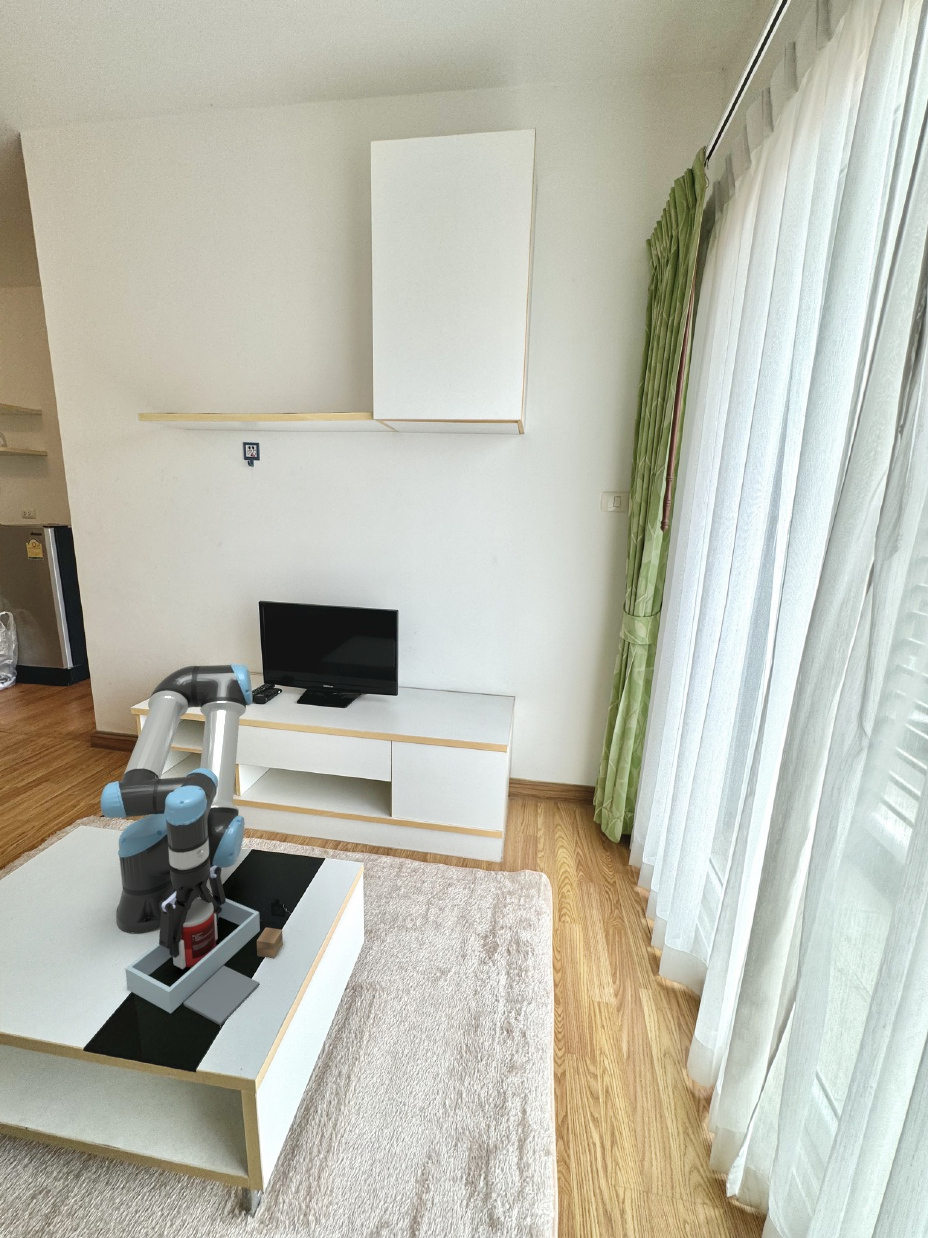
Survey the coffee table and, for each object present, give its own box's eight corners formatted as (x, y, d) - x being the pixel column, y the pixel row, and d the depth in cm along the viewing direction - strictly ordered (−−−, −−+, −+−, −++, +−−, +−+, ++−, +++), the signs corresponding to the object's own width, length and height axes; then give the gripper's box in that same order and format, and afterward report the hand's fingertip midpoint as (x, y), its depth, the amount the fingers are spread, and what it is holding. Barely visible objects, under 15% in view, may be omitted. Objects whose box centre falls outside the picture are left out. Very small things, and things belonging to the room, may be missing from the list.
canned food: (184, 940, 121) (181, 898, 119) (221, 939, 122) (219, 897, 120) (169, 969, 114) (165, 925, 112) (208, 968, 115) (205, 924, 112)
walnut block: (257, 956, 120) (256, 941, 119) (266, 942, 123) (265, 927, 123) (274, 959, 119) (273, 943, 118) (282, 945, 123) (282, 930, 122)
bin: (127, 989, 110) (125, 968, 109) (220, 913, 131) (219, 895, 130) (170, 1013, 105) (169, 992, 104) (259, 930, 127) (259, 912, 126)
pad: (183, 1005, 107) (183, 1003, 107) (223, 967, 116) (223, 965, 116) (220, 1025, 103) (220, 1023, 103) (259, 985, 112) (259, 982, 112)
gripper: (157, 896, 102) (166, 995, 107) (240, 838, 121) (245, 925, 126) (131, 884, 105) (140, 981, 110) (216, 829, 124) (221, 914, 129)
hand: (196, 951), depth 118 cm, fingers closed on canned food, 8 cm apart
